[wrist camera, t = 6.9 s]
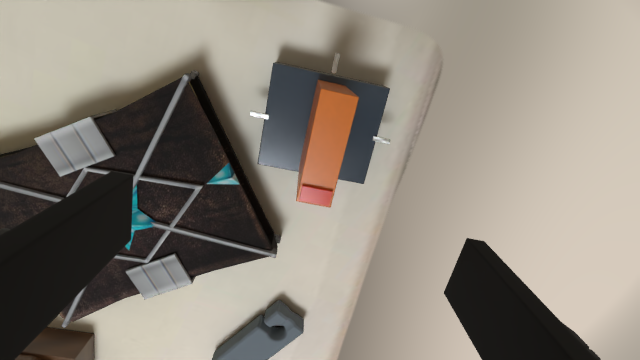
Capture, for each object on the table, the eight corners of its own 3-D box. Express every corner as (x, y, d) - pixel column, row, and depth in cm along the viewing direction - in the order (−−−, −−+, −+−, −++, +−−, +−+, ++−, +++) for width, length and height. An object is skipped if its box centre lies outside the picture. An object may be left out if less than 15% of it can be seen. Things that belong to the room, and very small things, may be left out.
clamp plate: (401, 68, 27) (410, 70, 25) (366, 192, 31) (371, 204, 29) (265, 37, 26) (261, 35, 24) (246, 169, 30) (241, 180, 28)
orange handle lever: (317, 79, 25) (321, 88, 18) (346, 86, 25) (359, 97, 18) (299, 166, 27) (296, 202, 21) (325, 171, 28) (330, 209, 21)
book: (87, 303, 35) (53, 342, 30) (-25, 156, 29) (-90, 176, 24) (282, 237, 33) (278, 268, 28) (203, 66, 27) (181, 69, 22)
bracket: (213, 350, 37) (208, 366, 36) (279, 297, 35) (277, 311, 33) (240, 368, 39) (236, 384, 37) (305, 318, 36) (305, 333, 34)
